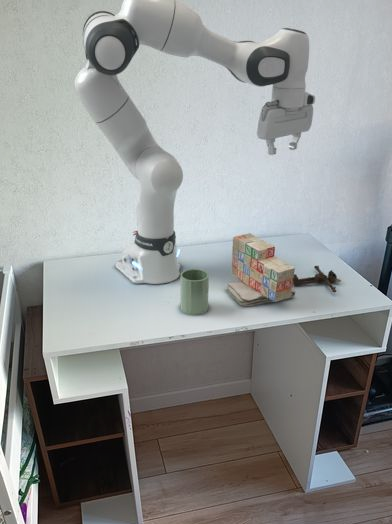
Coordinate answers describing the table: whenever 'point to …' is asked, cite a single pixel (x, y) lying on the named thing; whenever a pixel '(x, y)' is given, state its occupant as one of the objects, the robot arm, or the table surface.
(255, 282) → the stack of blocks
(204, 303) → the pencil cup
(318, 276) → the brown toy monkey
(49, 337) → the table surface
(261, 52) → the robot arm
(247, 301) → the washcloth
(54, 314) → the table surface
